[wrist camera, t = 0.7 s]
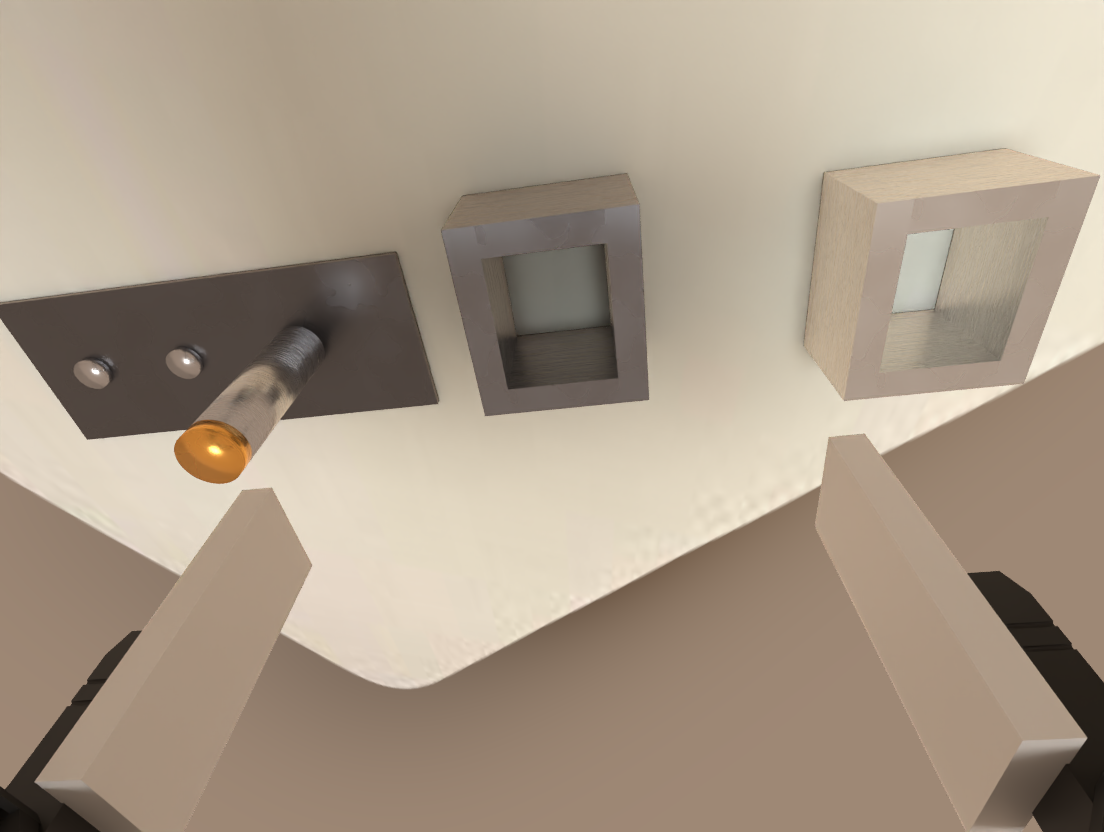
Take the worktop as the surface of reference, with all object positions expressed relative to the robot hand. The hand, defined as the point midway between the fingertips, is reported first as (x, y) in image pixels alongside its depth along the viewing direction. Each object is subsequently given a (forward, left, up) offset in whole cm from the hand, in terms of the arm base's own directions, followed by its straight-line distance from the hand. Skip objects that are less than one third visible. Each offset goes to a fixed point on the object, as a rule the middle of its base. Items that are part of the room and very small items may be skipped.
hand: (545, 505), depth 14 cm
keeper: (+2, -17, -15) cm, 23 cm away
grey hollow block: (0, 0, -15) cm, 15 cm away
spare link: (+1, +15, -15) cm, 21 cm away
